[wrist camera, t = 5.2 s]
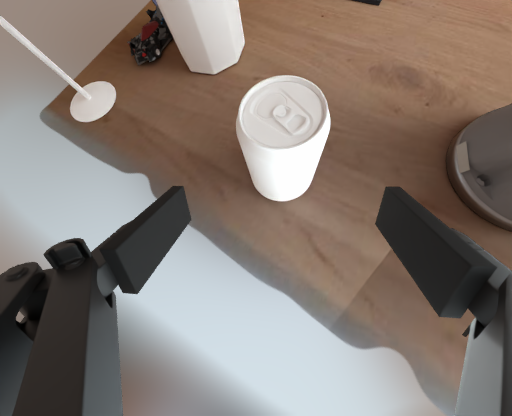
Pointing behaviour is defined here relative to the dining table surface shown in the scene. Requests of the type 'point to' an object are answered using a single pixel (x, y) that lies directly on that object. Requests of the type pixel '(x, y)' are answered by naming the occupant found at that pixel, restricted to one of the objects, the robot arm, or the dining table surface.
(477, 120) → the robot arm
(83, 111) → the wineglass
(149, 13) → the toy car
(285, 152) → the beverage can
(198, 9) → the cup
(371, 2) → the place mat
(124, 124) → the dining table surface
